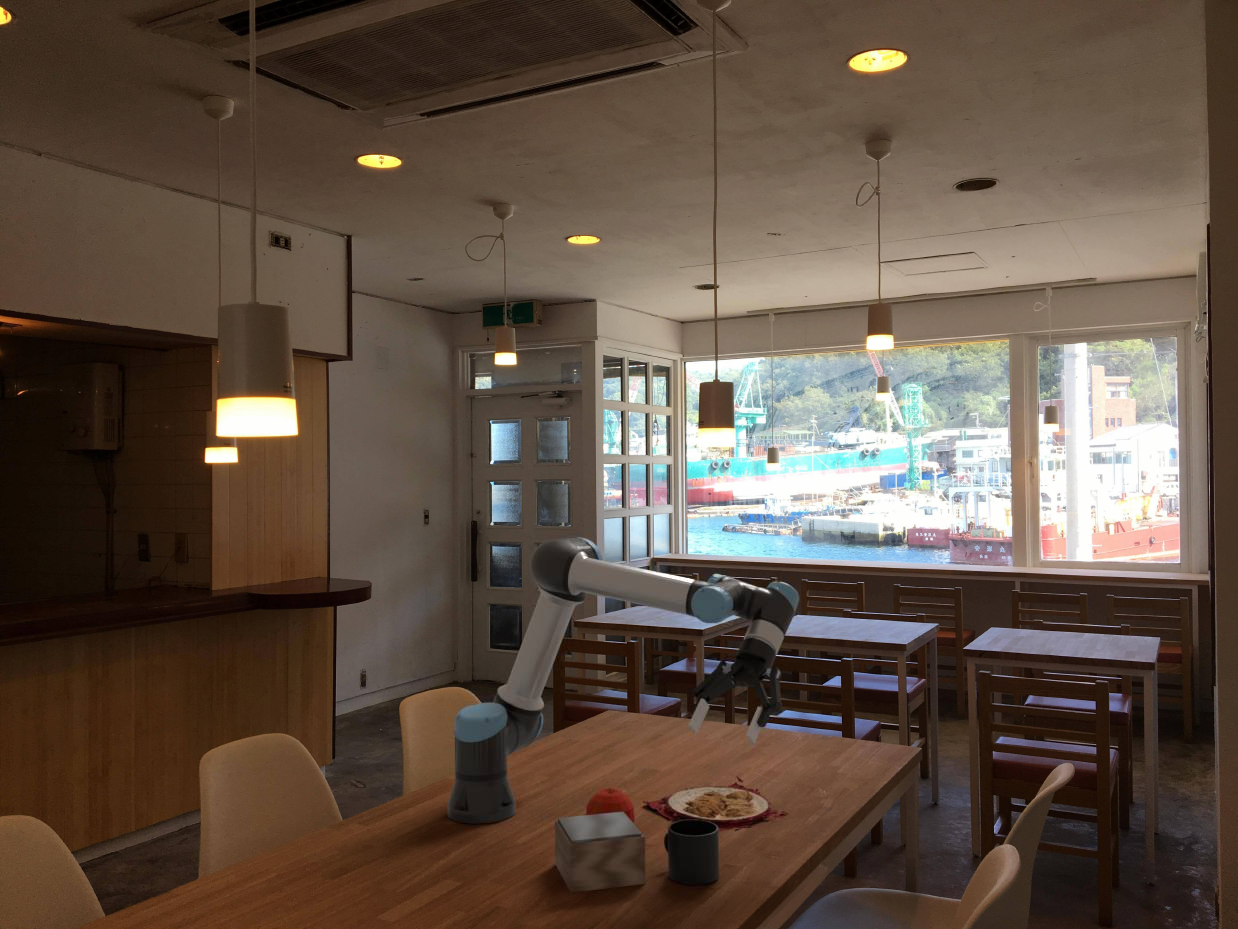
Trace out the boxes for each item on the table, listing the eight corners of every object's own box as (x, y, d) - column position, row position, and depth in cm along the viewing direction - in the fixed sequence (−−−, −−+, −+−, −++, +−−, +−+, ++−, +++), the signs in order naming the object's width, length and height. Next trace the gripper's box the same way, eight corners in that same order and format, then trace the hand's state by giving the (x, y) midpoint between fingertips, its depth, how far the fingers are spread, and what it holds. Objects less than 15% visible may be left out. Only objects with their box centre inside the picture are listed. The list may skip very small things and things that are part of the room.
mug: (681, 859, 193) (680, 812, 193) (729, 875, 184) (728, 826, 185) (648, 873, 186) (647, 824, 186) (696, 890, 178) (695, 840, 178)
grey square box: (570, 892, 177) (570, 842, 178) (555, 864, 191) (554, 817, 191) (645, 883, 181) (644, 834, 181) (625, 857, 195) (624, 810, 195)
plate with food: (641, 809, 226) (641, 793, 226) (736, 788, 239) (736, 773, 239) (701, 843, 205) (700, 826, 205) (802, 818, 218) (801, 802, 218)
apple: (579, 839, 205) (578, 783, 205) (624, 832, 209) (623, 777, 209) (595, 855, 196) (594, 796, 196) (642, 848, 199) (641, 790, 199)
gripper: (819, 664, 200) (783, 754, 188) (717, 653, 216) (678, 736, 204) (806, 641, 196) (767, 732, 184) (703, 631, 212) (661, 715, 200)
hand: (720, 734), depth 194 cm, fingers open, 13 cm apart
